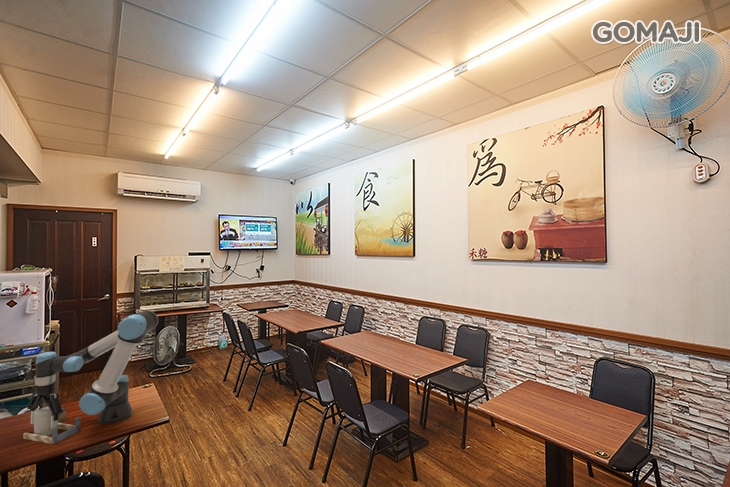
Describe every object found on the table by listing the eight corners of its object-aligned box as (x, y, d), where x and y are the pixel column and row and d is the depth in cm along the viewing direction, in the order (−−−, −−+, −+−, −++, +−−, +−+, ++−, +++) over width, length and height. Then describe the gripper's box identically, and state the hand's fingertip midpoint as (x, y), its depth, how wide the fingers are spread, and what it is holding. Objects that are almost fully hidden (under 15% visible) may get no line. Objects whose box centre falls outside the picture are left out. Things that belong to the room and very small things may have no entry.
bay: (80, 430, 172) (80, 417, 172) (53, 444, 161) (54, 429, 161) (50, 426, 177) (51, 412, 177) (23, 438, 165) (23, 424, 165)
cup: (42, 438, 165) (42, 414, 165) (29, 437, 167) (29, 413, 167) (60, 430, 173) (60, 407, 173) (47, 428, 175) (48, 405, 175)
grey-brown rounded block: (66, 419, 184) (66, 406, 184) (58, 423, 180) (58, 409, 180) (56, 417, 185) (56, 404, 185) (47, 421, 181) (47, 408, 181)
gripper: (72, 383, 171) (70, 424, 171) (35, 377, 177) (34, 417, 176) (55, 389, 164) (54, 432, 163) (18, 383, 169) (17, 425, 169)
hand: (44, 424), depth 170 cm, fingers open, 13 cm apart
